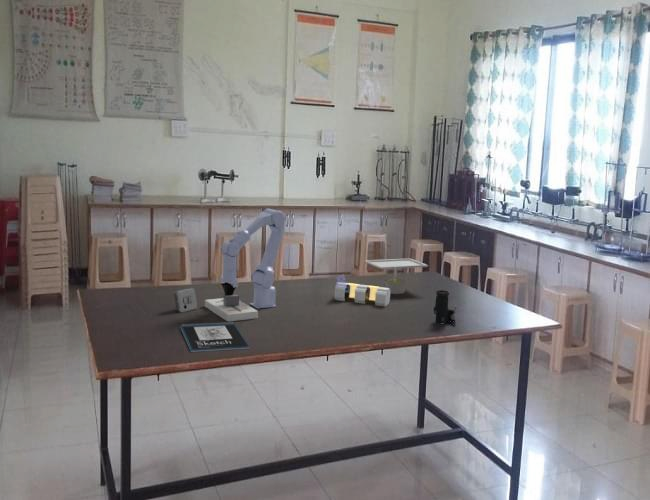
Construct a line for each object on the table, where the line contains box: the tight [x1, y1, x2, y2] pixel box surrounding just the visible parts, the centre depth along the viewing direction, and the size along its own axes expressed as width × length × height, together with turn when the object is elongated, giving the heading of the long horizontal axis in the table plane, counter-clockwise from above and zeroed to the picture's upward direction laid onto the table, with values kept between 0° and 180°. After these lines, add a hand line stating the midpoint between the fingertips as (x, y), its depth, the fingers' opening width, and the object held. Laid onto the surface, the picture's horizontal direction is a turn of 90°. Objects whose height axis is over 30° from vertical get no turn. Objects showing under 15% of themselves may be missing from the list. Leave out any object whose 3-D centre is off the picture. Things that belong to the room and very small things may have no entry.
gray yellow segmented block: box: [333, 273, 391, 307], centre depth 323 cm, size 25×10×13 cm, turn 73°
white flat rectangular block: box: [204, 297, 259, 323], centre depth 294 cm, size 14×25×3 cm, turn 32°
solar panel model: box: [363, 257, 429, 295], centre depth 346 cm, size 28×17×15 cm, turn 115°
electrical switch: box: [173, 287, 198, 313], centre depth 293 cm, size 9×5×9 cm, turn 141°
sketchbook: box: [180, 321, 251, 353], centre depth 259 cm, size 22×30×2 cm
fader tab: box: [223, 294, 240, 306], centre depth 293 cm, size 6×3×4 cm, turn 122°
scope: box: [433, 289, 458, 324], centre depth 294 cm, size 8×14×10 cm
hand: (228, 299), depth 295 cm, fingers closed
